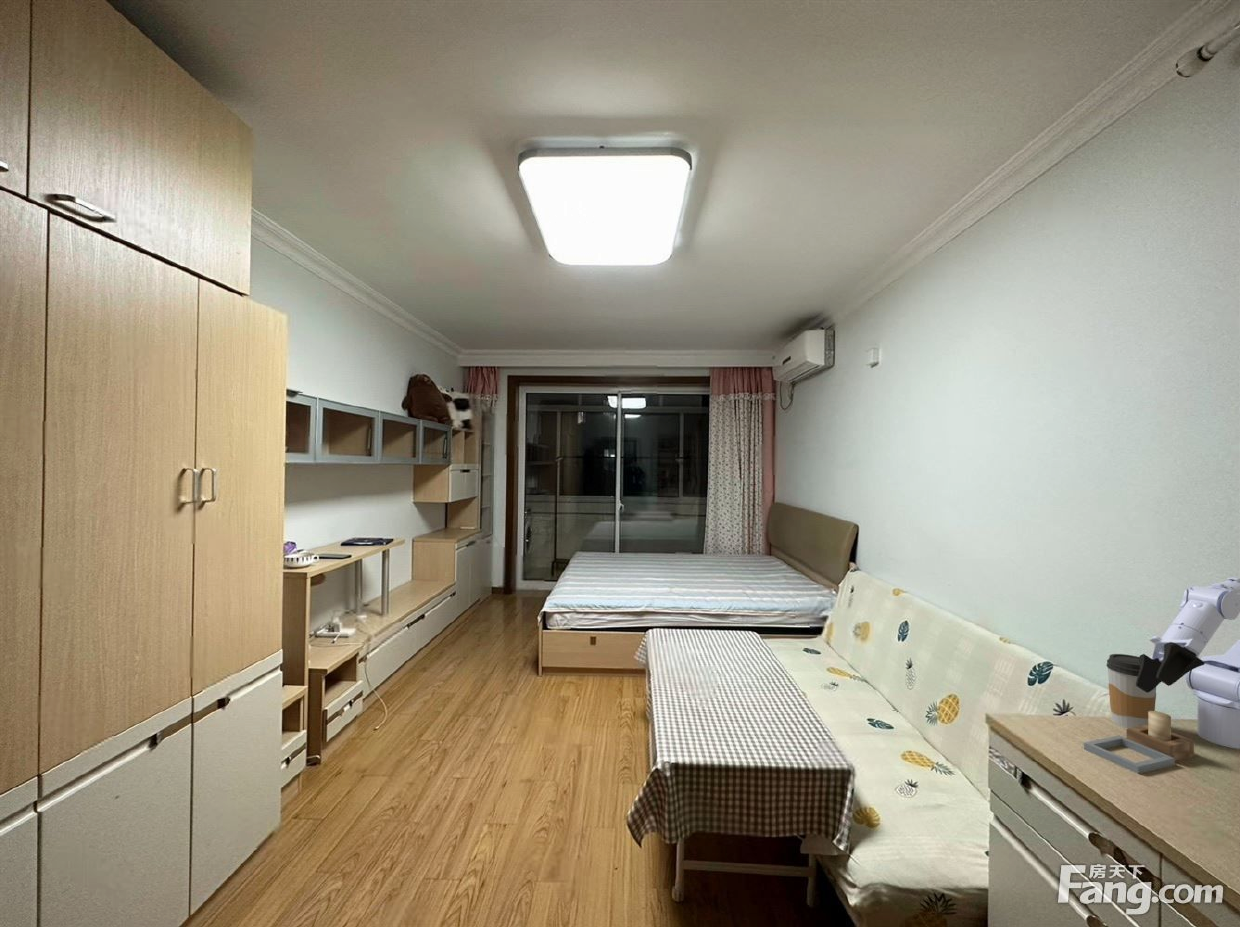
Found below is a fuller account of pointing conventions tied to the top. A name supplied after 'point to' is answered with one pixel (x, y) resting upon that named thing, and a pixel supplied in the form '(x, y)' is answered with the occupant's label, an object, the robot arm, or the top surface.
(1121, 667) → the coffee cup
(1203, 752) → the top surface
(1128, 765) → the tray
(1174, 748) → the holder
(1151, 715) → the dowel
